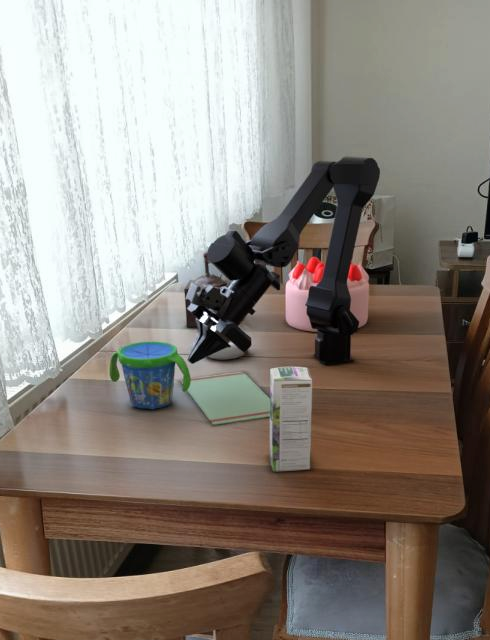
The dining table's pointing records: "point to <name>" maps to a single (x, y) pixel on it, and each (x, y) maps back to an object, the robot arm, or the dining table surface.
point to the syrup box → (290, 418)
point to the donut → (228, 353)
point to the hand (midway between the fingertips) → (189, 362)
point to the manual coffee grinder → (205, 282)
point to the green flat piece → (229, 398)
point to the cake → (311, 276)
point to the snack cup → (149, 372)
